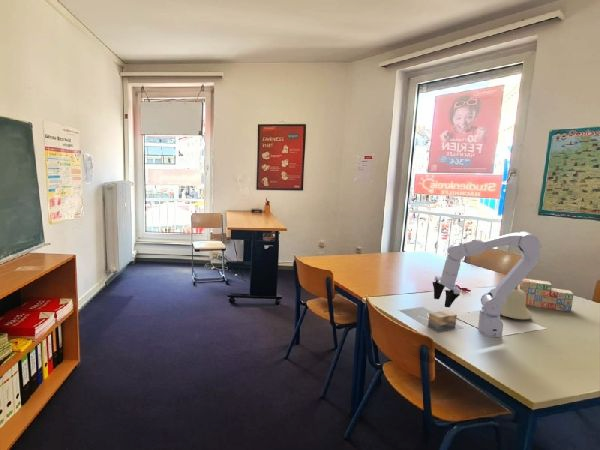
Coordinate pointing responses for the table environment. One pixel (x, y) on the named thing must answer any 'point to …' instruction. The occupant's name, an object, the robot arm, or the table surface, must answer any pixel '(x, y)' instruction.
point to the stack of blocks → (546, 295)
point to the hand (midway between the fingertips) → (441, 302)
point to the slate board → (425, 318)
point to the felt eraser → (442, 319)
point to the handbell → (516, 305)
